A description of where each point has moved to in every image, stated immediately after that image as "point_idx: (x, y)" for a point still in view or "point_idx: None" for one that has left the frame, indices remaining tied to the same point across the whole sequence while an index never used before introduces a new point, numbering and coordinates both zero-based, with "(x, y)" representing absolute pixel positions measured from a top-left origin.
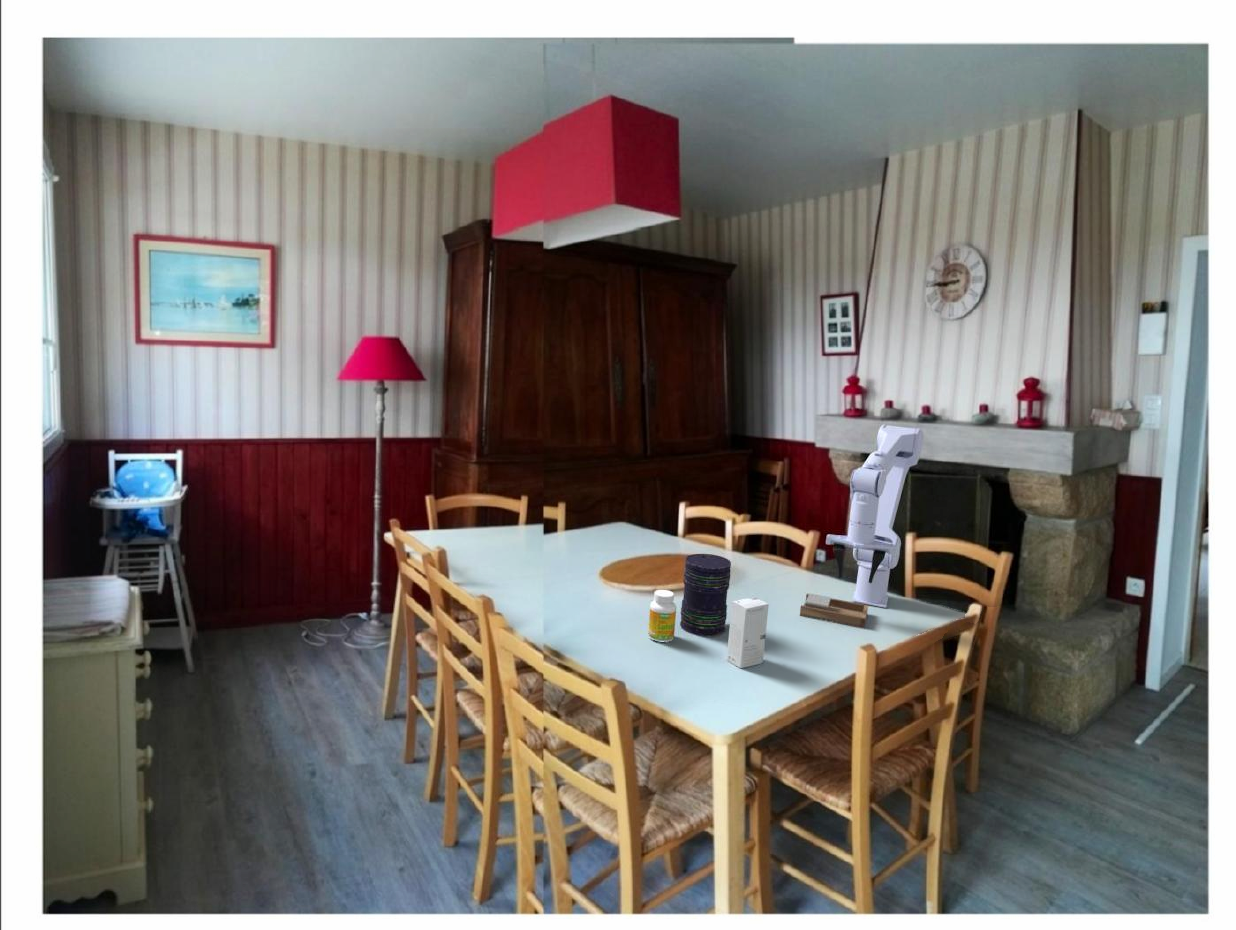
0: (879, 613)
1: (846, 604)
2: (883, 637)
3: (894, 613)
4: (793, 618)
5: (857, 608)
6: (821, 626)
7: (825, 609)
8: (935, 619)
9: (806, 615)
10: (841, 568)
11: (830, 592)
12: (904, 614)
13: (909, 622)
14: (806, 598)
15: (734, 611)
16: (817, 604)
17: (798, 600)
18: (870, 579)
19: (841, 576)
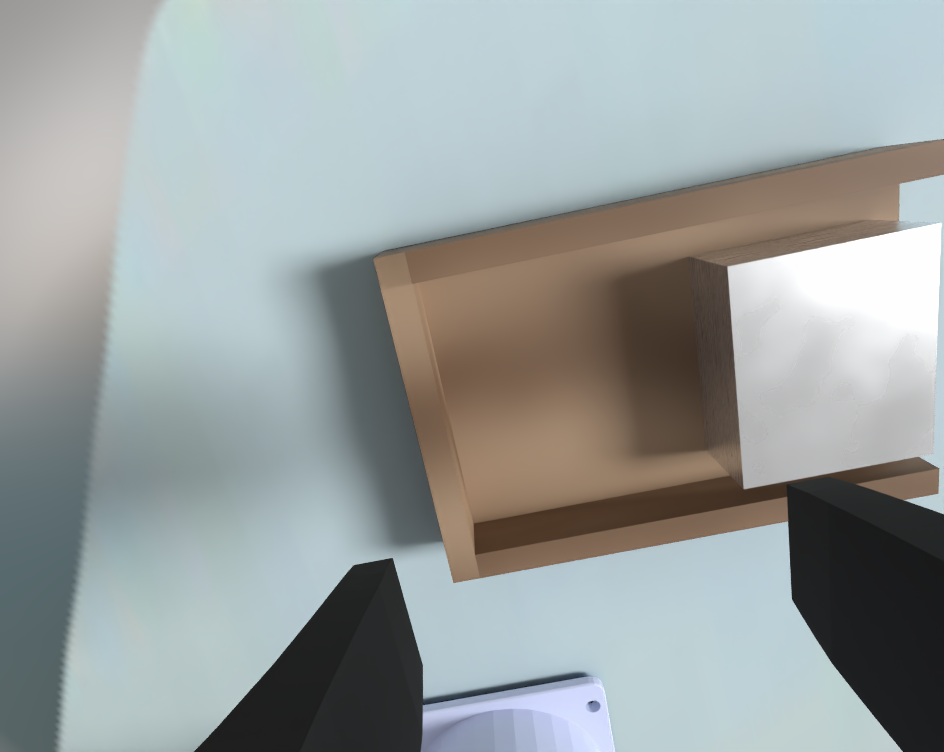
0: None
1: (605, 520)
2: (206, 175)
3: None
4: (924, 39)
5: (519, 526)
6: (676, 33)
7: (728, 257)
8: (88, 740)
9: (839, 156)
10: (935, 545)
11: (760, 738)
12: None
13: (184, 590)
14: None
15: None
16: (821, 246)
17: (940, 460)
18: (356, 587)
19: (808, 487)
